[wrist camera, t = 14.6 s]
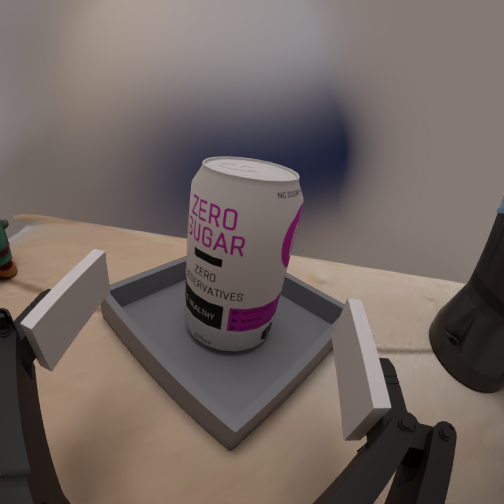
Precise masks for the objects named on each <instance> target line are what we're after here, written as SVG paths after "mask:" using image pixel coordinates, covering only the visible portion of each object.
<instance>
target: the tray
mask: <svg viewBox="0 0 504 504" xmlns="http://www.w3.org/2000/svg"><path fill="white" fill-rule="evenodd" d="M186 259H187V256H185V257H182V258H180V259H177V260H174V261H172V262H169V263H166V264H164V265H161V266H158V267H156V268H153V269H150V270H148V271H145V272H142V273H140V274H137V275H135V276H132V277H129V278H127V279H124V280H122V281H119V282H116V283H114V284H111V285H110V293H109V294H108V295H107V297H106V298H105V299H104V300H103V302H102V303H101V309H102V314H103V317H104V319H105V320H106V321H107V323H108V324H109V325H110V327H111V328H112V329H113V331H114V332H115V333H116V335H117V336H118V337H119V338H120V340H121V341H122V342H123V343H124V345H125V346H126V347H127V348H128V349H129V351H130V352H131V353H132V354H133V355H134V357H135V358H136V359H137V360H138V361H139V363H140V364H141V365H142V366H143V367H144V368H145V369H146V371H147V372H148V373H149V374H150V375H151V376H152V377H153V378H154V379H155V381H156V382H157V383H158V384H159V385H160V386H161V387H162V388H163V389H164V390H165V391H166V392H167V393H168V394H169V395H170V396H171V397H172V398H173V399H174V400H175V401H176V402H177V403H178V404H179V405H180V406H181V407H182V408H183V409H184V410H185V411H186V412H187V413H188V414H189V415H190V416H191V417H192V418H193V419H194V420H195V421H196V422H197V423H198V424H200V425H201V426H202V427H203V428H204V429H205V430H206V431H207V432H208V433H210V434H211V435H212V436H213V437H214V438H215V439H216V440H218V441H219V442H220V443H221V444H222V445H224V446H225V447H226V448H227V449H228V450H230V451H231V450H232V449H233V448H234V447H235V446H236V445H238V444H239V443H240V442H241V441H242V440H243V439H244V438H246V437H247V436H248V435H249V434H250V433H251V432H252V431H253V430H254V429H256V428H257V427H258V426H259V425H260V424H261V423H262V422H263V421H264V420H265V419H266V418H267V417H268V416H269V415H270V414H271V413H272V412H273V411H274V410H275V409H276V408H278V407H279V406H280V405H281V404H282V403H283V402H284V401H285V400H286V398H287V397H288V396H289V395H290V394H291V393H292V392H293V391H294V390H295V389H296V388H297V387H298V386H299V385H300V384H301V383H302V382H303V381H304V380H305V379H306V377H307V376H308V375H309V374H310V373H311V372H312V371H313V370H314V369H315V368H316V366H317V365H318V364H319V363H320V362H321V361H322V360H323V359H324V357H325V356H326V355H327V354H328V353H329V352H330V350H331V349H332V348H333V344H332V338H331V336H332V333H333V331H334V329H335V327H336V324H337V322H338V320H339V318H340V315H341V313H342V310H343V308H344V306H345V304H343V303H341V302H339V301H337V300H335V299H334V298H332V297H330V296H328V295H326V294H325V293H323V292H321V291H319V290H317V289H315V288H314V287H312V286H310V285H308V284H306V283H305V282H303V281H301V280H299V279H297V278H295V277H294V276H292V275H290V274H288V273H286V275H285V279H284V282H283V286H282V290H281V294H280V298H279V301H278V305H277V309H276V313H275V316H274V320H273V324H272V327H271V331H270V333H269V334H268V336H267V337H266V339H265V340H264V341H263V342H261V343H260V344H258V345H257V346H255V347H254V348H250V349H246V350H241V351H221V350H218V349H215V348H212V347H209V346H207V345H205V344H203V343H202V342H200V341H199V340H198V339H196V338H195V337H193V335H192V334H191V332H190V331H189V329H188V328H187V326H186V321H185V285H186Z"/></svg>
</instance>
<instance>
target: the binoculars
mask: <svg viewBox="0 0 504 504" xmlns="http://www.w3.org/2000/svg"><path fill="white" fill-rule="evenodd" d="M8 225H9V224H8V221H7V220H2V221H1V220H0V276H2V277H11V276H13V275H15V274H16V273H17V268H16V265H15V263H14V262H12V261H11V258H12V255H11V250H10V247H9V242H8V239H7V236H6V233H5V229H6V228H7V227H8Z"/></svg>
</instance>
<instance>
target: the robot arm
mask: <svg viewBox="0 0 504 504" xmlns="http://www.w3.org/2000/svg"><path fill="white" fill-rule="evenodd" d="M497 213H498V214H497V217H496V220H495V222H494V225H493V228H492V230H491V233H490V236H489V238H488V241H487V243H486V246H485V248H484V250H483V252H482V255H481V257H480V259H479V261H478V263H477V266H476V268H475V270H474V272H473V274H472V276H471V278H470V280H469V281H468V283H467V284H466V285H465V286H464V287H463V288H462V289H461V290H460V291H459V292H458V293H457V294H456V295H455V296H454V297H453V298H452V299H451V300H450V301H449V302H448V303H447V304H446V305H445V306H443V307H442V308H441V310H440V311H439V312H438V314H437V315H436V317H435V319H434V321H433V322H432V324H431V326H430V340H431V344H432V347H433V349H434V351H435V353H436V355H437V356H438V358H439V360H440V361H441V362H442V364H443V365H444V366H445V367H446V369H447V370H448V371H449V372H450V373H451V374H452V375H453V376H454V377H456V378H457V379H458V380H459V381H461V382H462V383H464V384H465V385H467V386H469V387H471V388H473V389H475V390H478V391H482V392H494V391H497V390H499V389H501V388H502V387H503V386H504V197H503V200H502V202H501V205H500V207H499V208H498V209H497ZM109 293H110V285H109V278H108V271H107V263H106V254H105V251H101V250H97V249H94V250H93V251H92V252H90V253H89V254H88V255H87V256H86V257H85V258H84V259H83V260H82V261H81V262H80V263H79V264H77V265H76V266H75V267H74V268H73V269H72V270H71V271H70V272H69V273H68V274H67V275H66V276H65V277H64V278H63V279H62V280H61V281H60V282H59V283H58V284H57V285H56V286H55V287H54V288H53V289H52V290H51V289H47V290H46V291H44V292H42V293H40V294H39V295H38V296H37V297H36V298H35V299H34V301H33V302H32V303H31V304H30V306H28V307H27V308H26V309H25V310H24V311H23V312H22V313H21V314H20V315H19V316H18V317H17V319H16V320H15V321H14V322H13V319H12V317H11V314H10V312H9V311H8V310H7V309H5V308H0V504H70V502H69V501H68V499H67V498H66V497H65V496H64V494H63V492H62V490H61V487H60V484H59V481H58V478H57V475H56V472H55V469H54V465H53V462H52V458H51V455H50V451H49V447H48V443H47V439H46V435H45V430H44V425H43V420H42V415H41V410H40V404H39V397H38V390H37V382H36V373H35V366H34V363H33V361H34V360H35V359H36V358H37V360H38V362H39V364H40V366H42V367H44V368H46V369H48V370H50V371H51V372H52V370H53V369H54V367H55V366H56V364H57V363H58V362H59V360H60V359H61V357H62V356H63V354H64V353H65V351H66V350H67V349H68V347H69V346H70V344H71V343H72V342H73V340H74V339H75V337H76V336H77V335H78V333H79V332H80V331H81V329H82V328H83V327H84V325H85V324H86V323H87V321H88V320H89V319H90V317H91V316H92V315H93V313H94V312H95V311H96V309H97V308H98V307H99V306H100V304H101V303H102V302H103V300H104V299H105V298H106V297H107V295H108V294H109ZM331 338H332V344H333V351H334V358H335V365H336V373H337V381H338V389H339V397H340V406H341V416H342V426H343V437H344V441H352V440H361V439H362V438H363V437H364V436H365V435H366V437H367V442H366V443H365V444H364V445H363V446H362V447H361V448H360V449H359V450H357V452H358V453H357V454H356V456H355V457H354V458H353V459H352V461H351V462H350V463H349V464H348V466H347V467H346V468H345V469H344V470H343V471H342V473H341V474H340V475H339V476H338V477H337V478H336V480H335V481H334V482H333V483H332V484H331V485H330V486H329V487H328V488H327V489H326V490H325V492H324V493H323V494H322V495H321V496H320V497H319V498H318V499H317V500H316V501H315V502H314V503H313V504H373V503H374V502H375V500H376V499H377V498H378V496H379V495H380V493H381V492H382V491H383V489H384V488H385V486H386V485H387V483H388V482H389V480H390V479H391V477H392V476H393V474H394V472H395V471H396V474H395V476H394V479H393V482H392V485H391V488H390V490H389V493H388V496H387V498H386V501H385V503H384V504H444V503H445V499H446V495H447V491H448V487H449V482H450V477H451V472H452V466H453V460H454V453H455V446H456V438H457V436H456V431H455V428H454V427H453V426H452V425H451V424H450V423H448V422H445V421H441V422H438V423H437V424H436V425H435V426H434V427H432V426H428V425H424V424H420V423H418V421H417V419H416V417H414V416H413V415H412V414H411V413H409V412H407V410H406V406H405V402H404V398H403V395H402V391H401V388H400V385H399V381H398V378H397V374H396V371H395V367H394V366H393V364H392V363H391V362H390V360H389V359H388V358H379V357H378V353H377V350H376V346H375V343H374V340H373V336H372V333H371V330H370V327H369V323H368V320H367V317H366V314H365V311H364V308H363V305H362V302H361V300H357V299H351V298H347V301H346V303H345V306H344V308H343V310H342V313H341V315H340V318H339V320H338V322H337V324H336V327H335V329H334V331H333V333H332V336H331ZM396 469H397V470H396Z"/></svg>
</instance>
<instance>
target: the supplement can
mask: <svg viewBox="0 0 504 504" xmlns="http://www.w3.org/2000/svg"><path fill="white" fill-rule="evenodd" d="M298 181H299V175H298V173H296V172H294V171H293V170H291V169H289V168H286V167H284V166H281V165H278V164H274V163H271V162H267V161H261V160H257V159H250V158H242V157H213V158H208V159H205V160H204V161H203V162H202V167H201V168H200V170H199V171H198V173H197V174H196V176H195V177H194V179H193V180H192V186H191V197H190V210H189V225H188V240H187V259H186V285H185V321H186V326H187V328H188V329H189V331H190V332H191V334H192V335H193V337H195V338H196V339H198V340H199V341H200V342H202V343H203V344H205V345H207V346H209V347H212V348H215V349H218V350H221V351H241V350H246V349H250V348H254V347H255V346H257V345H258V344H260V343H261V342H263V341H264V340H265V339H266V337H267V336H268V334H269V333H270V331H271V327H272V324H273V320H274V316H275V313H276V309H277V305H278V301H279V298H280V294H281V290H282V286H283V282H284V279H285V275H286V271H287V267H288V263H289V259H290V255H291V251H292V247H293V242H294V239H295V234H296V230H297V226H298V222H299V218H300V213H301V209H302V205H303V196H302V192H301V189H300V185H299V182H298Z"/></svg>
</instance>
